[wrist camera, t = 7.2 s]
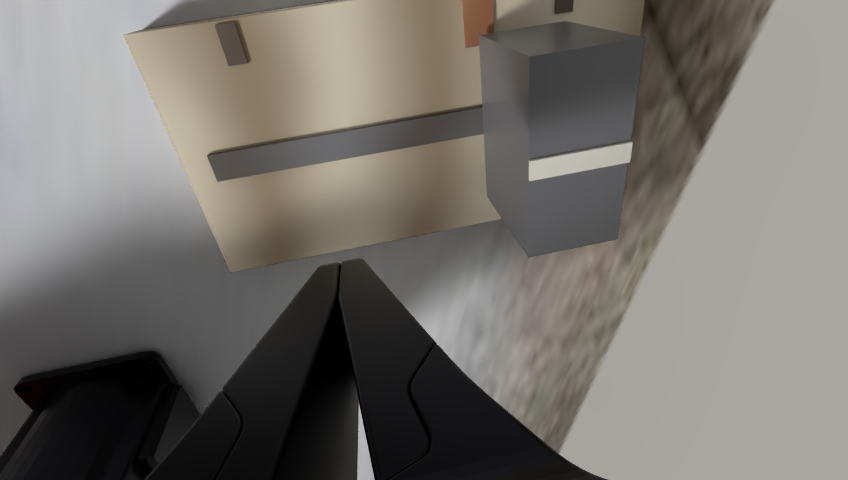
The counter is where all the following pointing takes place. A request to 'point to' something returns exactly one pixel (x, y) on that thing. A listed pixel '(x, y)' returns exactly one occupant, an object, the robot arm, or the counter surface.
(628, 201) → the counter surface
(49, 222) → the counter surface
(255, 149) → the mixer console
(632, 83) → the fader knob
